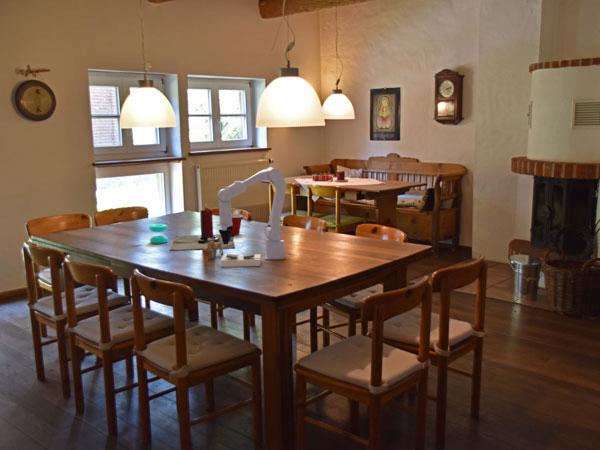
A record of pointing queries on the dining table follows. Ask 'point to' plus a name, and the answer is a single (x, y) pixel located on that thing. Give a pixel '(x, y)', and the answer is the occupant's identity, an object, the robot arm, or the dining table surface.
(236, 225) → the plastic cup
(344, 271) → the dining table surface
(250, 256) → the rocker
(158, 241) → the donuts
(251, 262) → the beige switch box
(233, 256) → the rocker
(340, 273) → the dining table surface
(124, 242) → the dining table surface
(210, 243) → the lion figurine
